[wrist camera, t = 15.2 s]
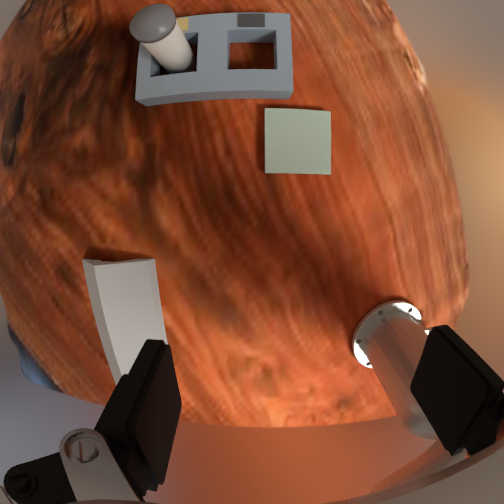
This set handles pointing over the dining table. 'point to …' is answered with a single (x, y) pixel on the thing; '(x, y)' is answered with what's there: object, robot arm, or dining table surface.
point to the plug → (163, 38)
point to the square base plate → (297, 141)
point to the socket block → (221, 61)
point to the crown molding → (125, 308)
